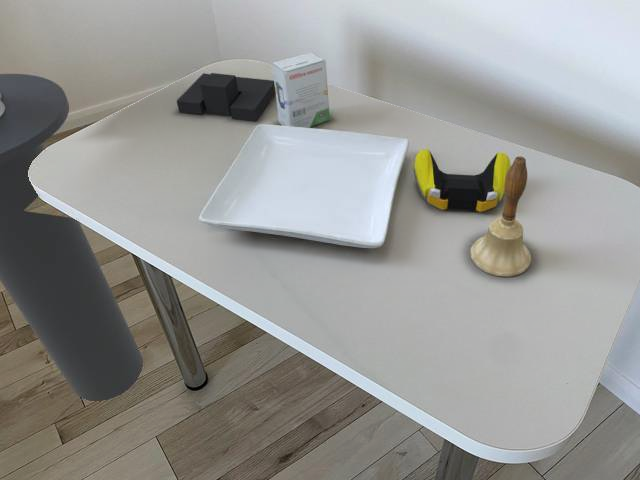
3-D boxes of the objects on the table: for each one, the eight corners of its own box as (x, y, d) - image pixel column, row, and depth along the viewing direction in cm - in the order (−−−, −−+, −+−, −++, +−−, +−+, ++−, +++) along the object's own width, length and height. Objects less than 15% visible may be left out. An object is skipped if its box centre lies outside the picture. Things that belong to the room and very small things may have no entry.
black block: (206, 113, 107) (200, 84, 103) (217, 101, 111) (211, 72, 107) (230, 116, 106) (224, 87, 102) (240, 104, 110) (235, 75, 106)
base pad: (179, 112, 108) (176, 100, 106) (205, 84, 116) (203, 73, 114) (256, 121, 105) (254, 109, 103) (277, 92, 113) (276, 80, 111)
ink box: (291, 134, 101) (284, 72, 93) (277, 122, 105) (270, 61, 96) (330, 120, 105) (327, 59, 96) (316, 109, 108) (312, 49, 100)
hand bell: (473, 276, 75) (492, 179, 63) (467, 235, 80) (483, 140, 69) (536, 277, 74) (566, 180, 63) (524, 236, 80) (550, 141, 69)
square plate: (200, 239, 81) (194, 218, 78) (260, 140, 100) (257, 120, 97) (382, 263, 77) (383, 242, 74) (409, 155, 96) (410, 135, 93)
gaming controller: (413, 173, 92) (411, 211, 85) (415, 144, 88) (413, 181, 81) (505, 177, 90) (511, 216, 83) (511, 149, 87) (518, 187, 80)
